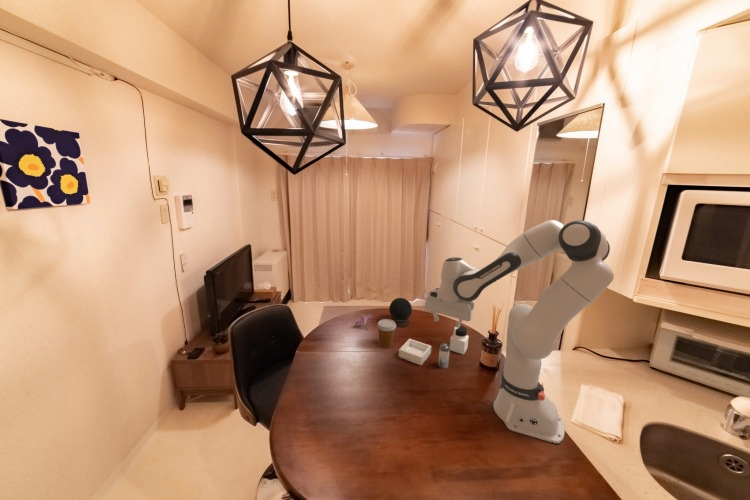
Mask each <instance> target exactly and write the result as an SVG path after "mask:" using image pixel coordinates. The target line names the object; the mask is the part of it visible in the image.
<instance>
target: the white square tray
mask: <svg viewBox="0 0 750 500" xmlns="http://www.w3.org/2000/svg"><path fill="white" fill-rule="evenodd" d="M431 353H432V345H430V344H427V343H423V342H421V341H418V340H415V339H412V338H408V339H407V341H406V342H405V343H404V344H403V345H401V347H400V348H398V358H400V359H403V360H405V361H408V362H411V363H414V364H415V365H416V364H417V365H418V366H422V365H423V364H424V363H425V361H427V359H428V358H429V357H430V355H431Z"/></svg>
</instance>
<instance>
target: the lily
mask: <svg viewBox="0 0 750 500" xmlns="http://www.w3.org/2000/svg"><path fill="white" fill-rule="evenodd" d="M371 318H374V316H373V315H372V313H369V314H368V315H365V314H360V315H358V319H357V320H355V321H353V324H354V323H355V324H354V325H353V327H355V326H357V325H359V324H364V326H365V328H366V330H368V328H367V325H366V323H367V321H368V320H369V319H371Z"/></svg>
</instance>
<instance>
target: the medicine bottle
mask: <svg viewBox="0 0 750 500" xmlns="http://www.w3.org/2000/svg"><path fill="white" fill-rule="evenodd" d="M467 332H468V329H467V328H466V327H465V326H463V325H460V327H459V328H457V327H455V326H454V328H453V334H452V335H451V336H450V340H449V345H450V351H451V352H454V353H457V354H460V355H465V353H466V351H467V349H468V347H469V346H468V345H469V339H470V337H469V335H468V333H467Z"/></svg>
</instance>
